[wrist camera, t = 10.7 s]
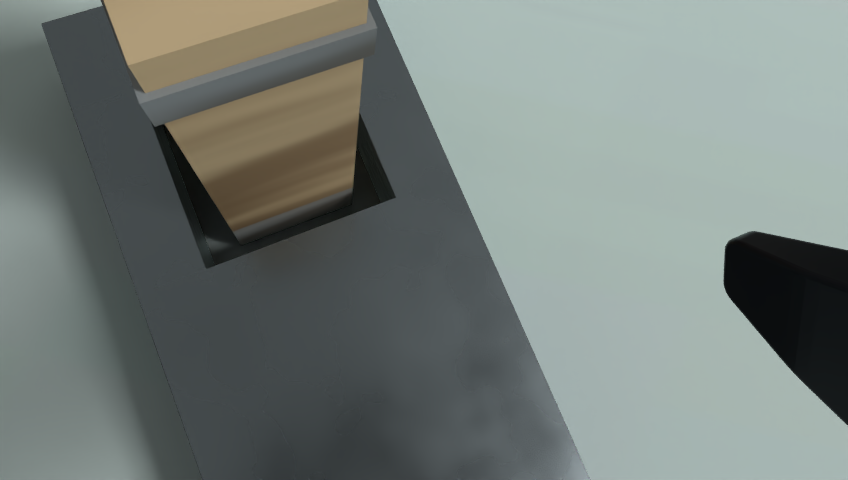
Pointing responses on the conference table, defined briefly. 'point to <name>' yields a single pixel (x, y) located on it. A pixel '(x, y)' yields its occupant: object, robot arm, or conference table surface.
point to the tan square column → (254, 98)
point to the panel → (324, 302)
